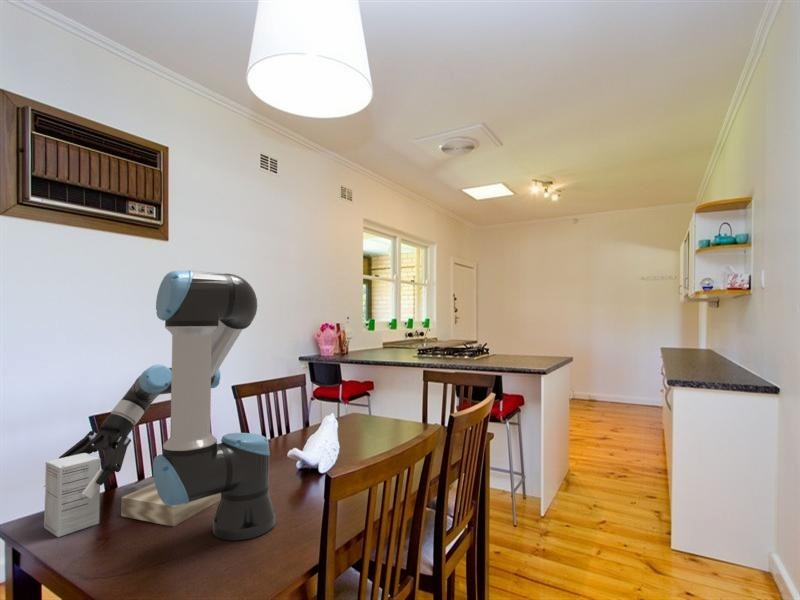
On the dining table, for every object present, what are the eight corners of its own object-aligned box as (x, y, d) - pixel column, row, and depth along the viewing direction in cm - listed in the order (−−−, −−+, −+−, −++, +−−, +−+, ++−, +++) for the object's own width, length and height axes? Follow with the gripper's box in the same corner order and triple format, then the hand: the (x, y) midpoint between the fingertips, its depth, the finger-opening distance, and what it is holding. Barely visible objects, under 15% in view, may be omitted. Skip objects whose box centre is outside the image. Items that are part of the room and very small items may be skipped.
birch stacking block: (222, 498, 130) (222, 481, 131) (173, 526, 113) (174, 506, 114) (174, 491, 136) (174, 474, 136) (121, 516, 119) (121, 497, 119)
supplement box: (100, 523, 115) (102, 458, 115) (57, 538, 107) (59, 468, 108) (84, 514, 120) (86, 451, 121) (42, 527, 112) (44, 460, 113)
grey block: (118, 506, 129) (147, 502, 128) (116, 489, 130) (145, 485, 128) (149, 492, 141) (176, 488, 139) (147, 476, 142) (174, 472, 140)
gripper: (163, 430, 126) (112, 505, 111) (99, 423, 134) (44, 492, 119) (147, 416, 121) (92, 492, 106) (82, 409, 129) (22, 479, 114)
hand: (67, 492), depth 113 cm, fingers open, 13 cm apart
